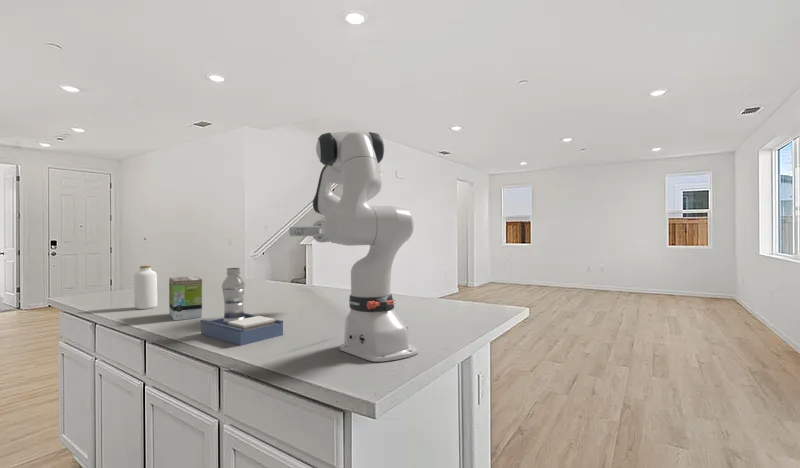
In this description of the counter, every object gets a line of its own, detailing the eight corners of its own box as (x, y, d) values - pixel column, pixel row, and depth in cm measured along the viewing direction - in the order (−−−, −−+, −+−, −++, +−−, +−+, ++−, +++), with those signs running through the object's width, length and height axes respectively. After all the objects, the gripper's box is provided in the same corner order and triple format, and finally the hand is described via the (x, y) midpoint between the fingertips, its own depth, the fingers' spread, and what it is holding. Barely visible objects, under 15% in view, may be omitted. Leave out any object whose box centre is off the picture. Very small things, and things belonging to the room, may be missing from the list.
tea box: (203, 317, 157) (202, 278, 156) (173, 321, 151) (172, 280, 151) (197, 311, 169) (196, 275, 169) (168, 314, 163) (168, 277, 163)
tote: (283, 337, 126) (283, 320, 126) (240, 348, 115) (240, 330, 115) (242, 327, 139) (242, 312, 139) (200, 336, 128) (200, 320, 128)
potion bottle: (152, 305, 184) (151, 264, 184) (161, 307, 179) (160, 265, 179) (131, 308, 177) (130, 266, 177) (140, 310, 172) (139, 267, 172)
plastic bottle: (244, 333, 128) (243, 268, 127) (220, 335, 126) (219, 269, 126) (247, 329, 134) (246, 267, 134) (224, 330, 132) (223, 267, 132)
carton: (275, 335, 125) (275, 319, 125) (244, 343, 117) (243, 325, 117) (259, 331, 130) (259, 315, 130) (228, 338, 122) (227, 321, 122)
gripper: (299, 223, 165) (280, 223, 152) (347, 222, 160) (331, 221, 146) (299, 239, 165) (280, 240, 152) (347, 239, 160) (331, 239, 146)
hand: (305, 231), depth 149 cm, fingers open, 8 cm apart
